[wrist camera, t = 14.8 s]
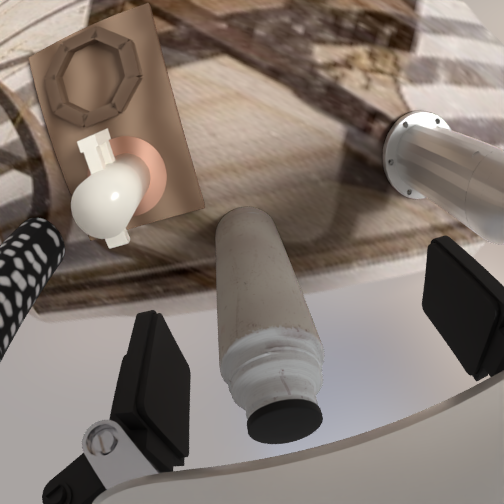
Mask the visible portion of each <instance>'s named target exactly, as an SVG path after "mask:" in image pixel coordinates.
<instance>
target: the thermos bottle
mask: <svg viewBox="0 0 504 504" xmlns="http://www.w3.org/2000/svg"><path fill="white" fill-rule="evenodd" d="M215 243H216V285H217V314H218V342H219V361H220V362H219V363H220V372H221V376H222V378H223V379H224V381H225V382H226V383H227V384H228V386H229V391H230V393H231V395H232V398H233V399H234V401H235V403H236V404H237V405H238V406H239V407H241V408H243V409H244V410H246V416H247V419H248V421H247V429H248V434H249V435H250V437H251V438H252V439H254V440H256V441H258V442H261V443H267V444H283V443H289V442H293V441H297V440H299V439H302V438H304V437H307V436H308V435H310V434H312V433H313V432H314V431H316V430H317V429H318V428H319V427H320V425H321V423H322V420H323V417H322V413H321V410H320V408H319V406H318V402H317V398H316V395H317V394H318V392H319V391H320V389H321V387H322V384H323V376H322V364H323V362H324V349H323V346H322V343H321V340H320V338H319V335H318V333H317V330H316V327H315V325H314V322H313V319H312V317H311V314H310V312H309V309H308V306H307V304H306V301H305V299H304V296H303V293H302V291H301V288H300V286H299V283H298V281H297V278H296V276H295V273H294V271H293V268H292V265H291V263H290V260H289V258H288V255H287V253H286V250H285V248H284V245H283V243H282V241H281V238H280V236H279V233H278V231H277V228H276V226H275V224H274V222H273V220H272V218H271V217H270V216H269V215H268V214H267V213H265V212H264V211H262V210H260V209H257V208H254V207H241V208H237V209H234V210H232V211H230V212H229V213H227V214H226V215H225V216H224V217H223V218H222V219H221V220H220V222H219V224H218V226H217V229H216V236H215Z"/></svg>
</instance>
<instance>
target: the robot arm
mask: <svg viewBox="0 0 504 504" xmlns="http://www.w3.org/2000/svg"><path fill="white" fill-rule="evenodd" d="M388 161H389V162H388ZM383 166H384V171H385V174H386V176H387V179H388V181H389V182H390V184H391V185H392V186H393V187H394V188H395V189H396V190H397V191H398V192H400V193H401V194H402V195H404V196H406V197H408V198H413V199H423V198H428V199H429V200H431V201H432V202H434V203H435V204H437V205H438V206H439V207H441V208H442V209H444V210H445V211H447V212H448V213H449V214H451V215H452V216H453V217H455V218H456V219H458V220H459V221H460V222H462V223H463V224H464V225H466V226H467V227H468V228H470V229H471V230H472V231H473V232H475V233H476V234H478V235H479V236H480V237H482V238H483V239H485V240H486V241H488V242H491V243H495V244H501V245H502V244H504V150H503V149H501V148H498V147H496V146H493V145H491V144H488V143H485V142H483V141H480V140H477V139H475V138H472V137H469V136H466V135H464V134H461V133H458V132H455V131H452V130H451V128H450V127H449V125H448V124H447V123H446V122H445V121H444V120H443V119H442V118H441V117H440V116H438V115H436V114H434V113H431V112H427V111H413V112H410V113H407V114H406V115H404V116H402V117H401V118H400V119H399V120H398V121H396V122H395V123H394V125H393V126H392V128H391V129H390V131H389V133H388V135H387V137H386V140H385V143H384V147H383ZM422 307H423V310H424V312H425V314H426V315H427V316H428V318H429V319H430V321H431V322H432V323H433V325H434V326H435V327H436V329H437V330H438V332H439V333H440V334H441V336H442V337H443V339H444V340H445V341H446V343H447V344H448V346H449V347H450V348H451V350H452V351H453V353H454V354H455V355H456V357H457V359H458V360H459V361H460V363H461V364H462V366H463V368H464V369H465V371H466V372H467V373H468V374H469V375H472V376H473V377H474V379H475V380H476V381H479V380H480V379H482V378H484V377H486V376H488V374H489V375H490V377H491V378H489V379H487V380H485V381H483V382H481V383H479V384H477V385H476V386H474V387H472V388H470V389H468V390H466V391H464V392H462V393H460V394H458V395H456V396H454V397H452V398H450V399H448V400H446V401H443V402H441V403H439V404H437V405H435V406H432V407H430V408H428V409H425V410H423V411H421V412H418V413H416V414H413V415H411V416H409V417H406V418H404V419H401V420H398V421H396V422H393V423H391V424H388V425H385V426H382V427H379V428H377V429H374V430H371V431H368V432H365V433H362V434H359V435H356V436H353V437H350V438H346V439H343V440H340V441H336V442H333V443H329V444H325V445H321V446H318V447H314V448H310V449H306V450H302V451H298V452H294V453H289V454H284V455H280V456H275V457H270V458H265V459H259V460H254V461H248V462H242V463H235V464H230V465H222V466H216V467H208V468H199V469H189V470H182V471H173V466H184V457H188V455H189V410H190V409H189V408H190V368H189V365H188V363H187V362H186V360H185V358H184V356H183V354H182V352H181V351H180V349H179V347H178V345H177V343H176V341H175V339H174V337H173V336H172V334H171V332H170V329H169V328H168V326H167V324H166V322H165V320H164V318H163V316H162V314H161V313H158V314H157V313H156V312H155V311H154V310H151V311H147V312H142V313H138V314H137V316H136V320H135V323H134V328H133V331H132V335H131V339H130V343H129V347H128V351H127V354H126V355H125V356H124V357H123V360H122V364H121V368H120V372H119V377H118V381H117V386H116V391H115V395H114V400H113V405H112V409H111V414H110V420H102V421H98V422H96V423H94V424H93V425H92V426H90V427H89V428H88V429H87V431H86V432H85V434H84V436H83V439H82V449H83V451H84V453H83V454H82V455H80V456H79V457H78V458H77V459H76V460H75V461H73V462H72V463H71V464H70V465H69V466H67V467H66V468H65V469H64V470H63V471H61V472H60V473H59V474H58V475H56V476H55V477H54V478H53V479H52V480H50V481H49V483H48V484H47V485H46V486H45V488H44V490H43V495H42V500H43V504H504V286H503V285H502V284H500V282H499V281H498V280H496V279H495V278H494V277H493V276H492V275H491V274H490V273H489V272H488V271H487V270H486V269H485V268H484V267H483V266H481V265H480V264H479V263H478V262H477V261H476V260H475V259H474V258H473V257H472V256H470V255H469V254H468V253H467V252H466V251H465V250H464V249H463V248H461V247H460V246H459V245H458V244H457V243H456V242H454V241H453V240H452V239H451V238H450V237H448V236H442V237H439V238H435V239H433V240H432V241H431V244H430V245H429V246H428V250H427V263H426V274H425V283H424V292H423V299H422Z"/></svg>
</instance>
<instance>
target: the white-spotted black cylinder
mask: <svg viewBox="0 0 504 504" xmlns="http://www.w3.org/2000/svg"><path fill="white" fill-rule="evenodd" d="M64 253H65V247H64V242H63V239H62V236H61V235H60V233H59V231H58V230H57V229H56V228H55V227H54V226H53V225H52V224H51V223H50V222H48V221H46V220H44V219H41V218H31V219H28V220H26V221H25V222H24V223H23V224H22V225H21V226H20V227H19V228H18V229H16V230H15V231H14V232H13V233H12V234H11V235H10V236H9V237H8V238H7V239H6V240H5V241H4V242H3V243H2V244H1V245H0V362H1V360H2V358H3V356H4V354H5V352H6V351H7V349H8V347H9V345H10V343H11V341H12V340H13V338H14V336H15V334H16V332H17V331H18V329H19V327H20V325H21V324H22V322H23V320H24V319H25V317H26V315H27V314H28V312H29V310H30V309H31V307H32V305H33V304H34V302H35V301H36V299H37V297H38V296H39V294H40V293H41V291H42V290H43V288H44V287H45V285H46V283H47V282H48V280H49V279H50V277H51V276H52V274H53V273H54V272H55V270H56V269H57V267H58V266H59V264H60V263H61V261H62V260H63V257H64Z"/></svg>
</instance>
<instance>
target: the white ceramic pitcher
mask: <svg viewBox="0 0 504 504" xmlns="http://www.w3.org/2000/svg"><path fill="white" fill-rule="evenodd" d="M110 139H111V137H110V134H109V131H108V128H107V129H104V130H102V131H99V132H97V133H94V134H92V135H90V136H88V137H86V138H84V139H81V140H79V141H77V143H78V146H79V149H80V152H81V153H82V152H84V155H85V158H86V161H87V164H88V167H89V169H90V172H91V175H90V176H89V177H88V178H87V179H85V180H84V181H83V182H82V183H81V184H80V185H79V186H78V187H77V188H76V190H75V191H74V193H73V196H72V200H71V211H72V215H73V218H74V220H75V222H76V223H77V225H78V226H79V227H80V229H82V230H83V231H84V232H85V233H86V234H88V235H90V236H92V237H95V238H100V239H105V240H106V243H107V245H108V247H109V249H110V248H114V247H117V246H121V245H124V244H127V243H129V241H130V237H129V235H128V232H127V230H126V226H127V225H128V223H129V221H130V219H131V217H132V216H133V214H134V212H135V210H136V209H137V207H138V205H139V203H140V202H141V200H142V198H143V197H144V195H145V193H146V192H147V190H148V188H149V185H150V171H149V168H148V166H147V165H146V163H145V162H144V161H143V160H142V159H141V158H140V157H138V156H136V155H134V154H129V153H123V154H119V155H116V156H114V155H113V152H112V149H111V146H110V143H109V140H110Z"/></svg>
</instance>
